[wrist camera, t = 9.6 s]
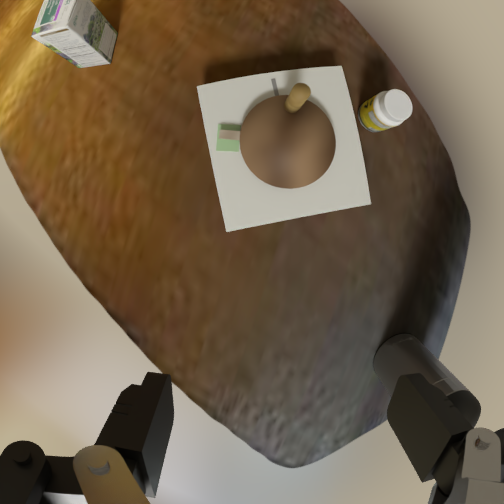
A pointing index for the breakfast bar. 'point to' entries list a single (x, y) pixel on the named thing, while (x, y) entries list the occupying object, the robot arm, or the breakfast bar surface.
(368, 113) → the supplement bottle
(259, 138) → the tuning dial
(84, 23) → the syrup box
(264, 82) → the box
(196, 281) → the breakfast bar surface
